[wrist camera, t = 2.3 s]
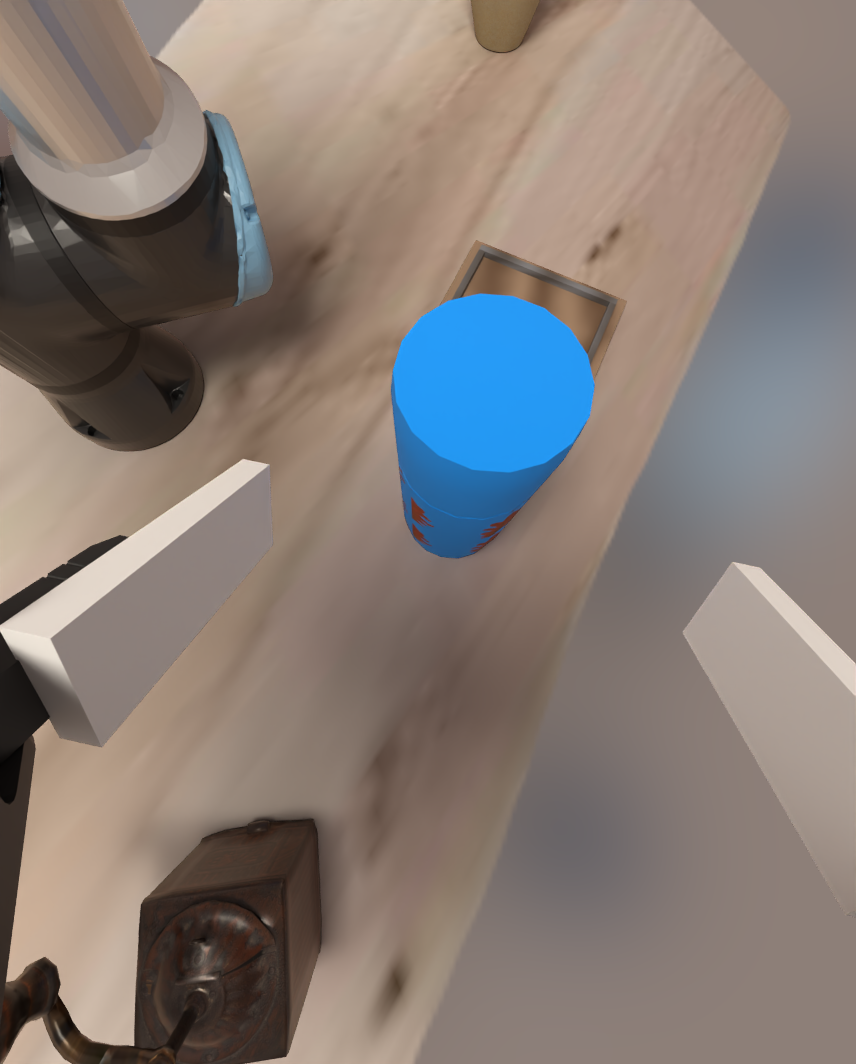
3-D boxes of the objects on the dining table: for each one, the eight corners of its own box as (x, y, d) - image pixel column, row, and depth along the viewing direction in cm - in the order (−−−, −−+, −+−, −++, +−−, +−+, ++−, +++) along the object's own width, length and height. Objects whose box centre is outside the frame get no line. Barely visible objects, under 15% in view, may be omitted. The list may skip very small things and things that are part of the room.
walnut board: (406, 372, 49) (405, 362, 47) (474, 248, 53) (476, 234, 51) (565, 442, 47) (572, 434, 45) (622, 308, 52) (630, 296, 50)
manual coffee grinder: (317, 809, 38) (232, 967, 20) (323, 949, 35) (233, 1266, 18) (148, 833, 37) (-92, 1020, 19) (142, 978, 35) (-139, 1342, 17)
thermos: (501, 471, 46) (595, 299, 22) (499, 562, 44) (602, 483, 19) (407, 464, 46) (397, 284, 22) (400, 556, 44) (379, 467, 19)
